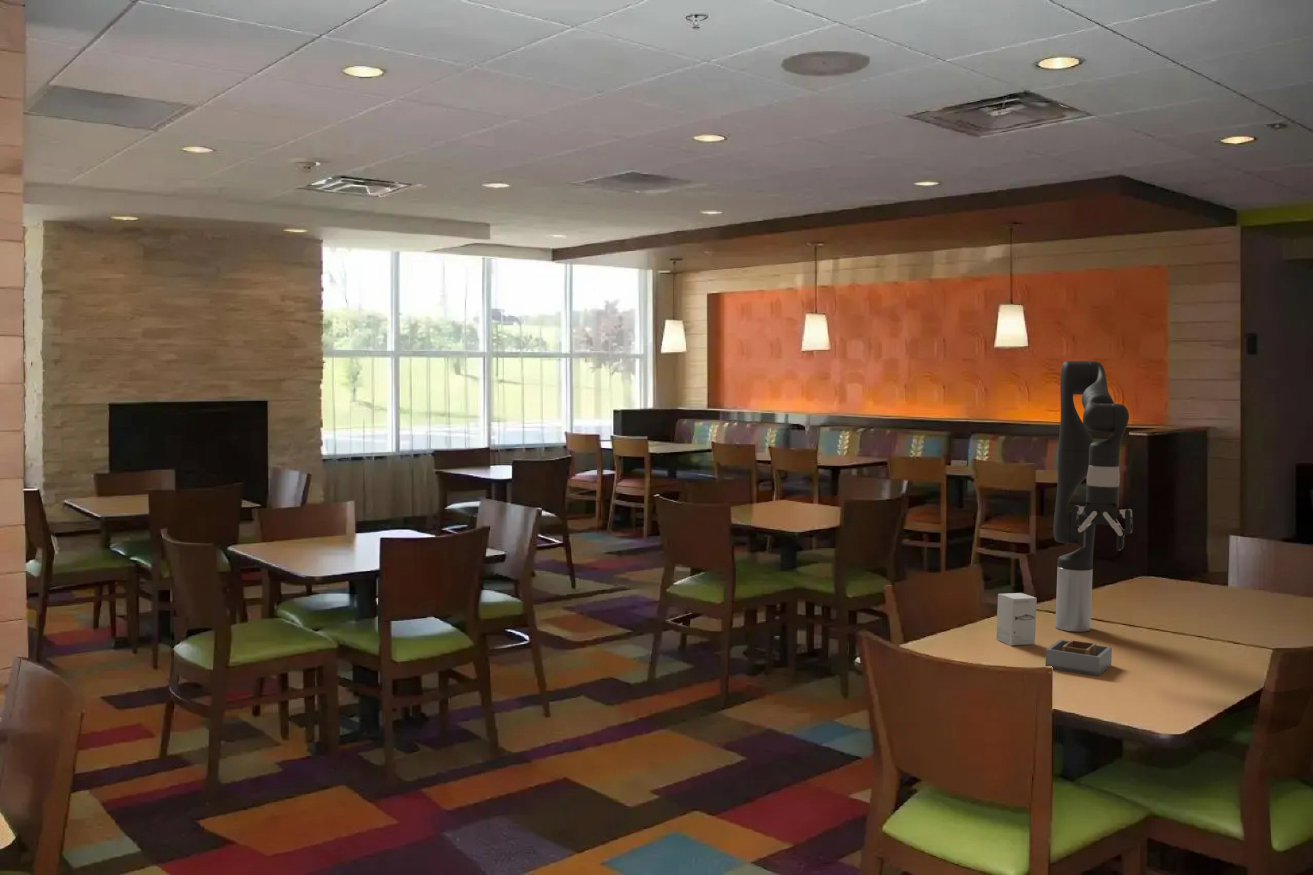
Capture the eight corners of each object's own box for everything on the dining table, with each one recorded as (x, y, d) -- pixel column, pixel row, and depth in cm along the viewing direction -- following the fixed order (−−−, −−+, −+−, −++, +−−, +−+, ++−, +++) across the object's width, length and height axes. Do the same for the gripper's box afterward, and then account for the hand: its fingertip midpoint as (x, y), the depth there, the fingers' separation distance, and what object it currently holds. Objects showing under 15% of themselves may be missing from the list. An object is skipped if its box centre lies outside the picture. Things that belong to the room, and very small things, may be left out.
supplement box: (1011, 646, 292) (1012, 598, 291) (995, 639, 299) (997, 593, 298) (1035, 644, 294) (1037, 597, 293) (1019, 638, 301) (1021, 592, 300)
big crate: (1059, 657, 281) (1060, 639, 281) (1111, 665, 274) (1111, 647, 274) (1045, 667, 271) (1046, 649, 271) (1098, 676, 264) (1099, 657, 263)
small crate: (1070, 657, 277) (1071, 640, 277) (1095, 661, 274) (1096, 643, 274) (1061, 664, 271) (1062, 646, 270) (1087, 668, 267) (1087, 650, 267)
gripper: (1136, 484, 275) (1134, 550, 276) (1077, 480, 283) (1074, 544, 284) (1130, 487, 269) (1127, 553, 270) (1069, 483, 277) (1066, 547, 278)
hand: (1100, 548), depth 277 cm, fingers open, 8 cm apart
